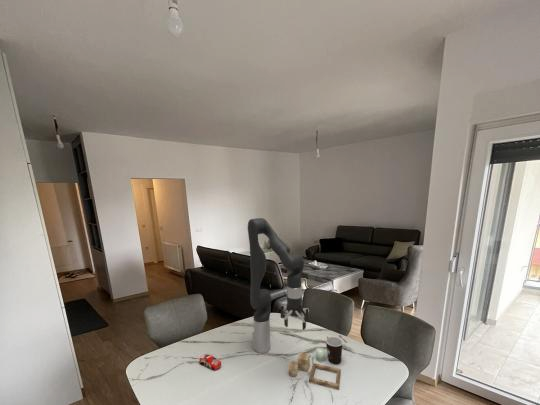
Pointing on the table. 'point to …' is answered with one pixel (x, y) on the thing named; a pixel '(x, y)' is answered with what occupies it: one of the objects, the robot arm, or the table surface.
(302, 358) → the oak block
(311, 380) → the walnut tray
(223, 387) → the table surface
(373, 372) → the table surface
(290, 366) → the cork cylinder
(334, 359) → the coffee mug
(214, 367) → the race car
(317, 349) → the pale green rounded cylinder
